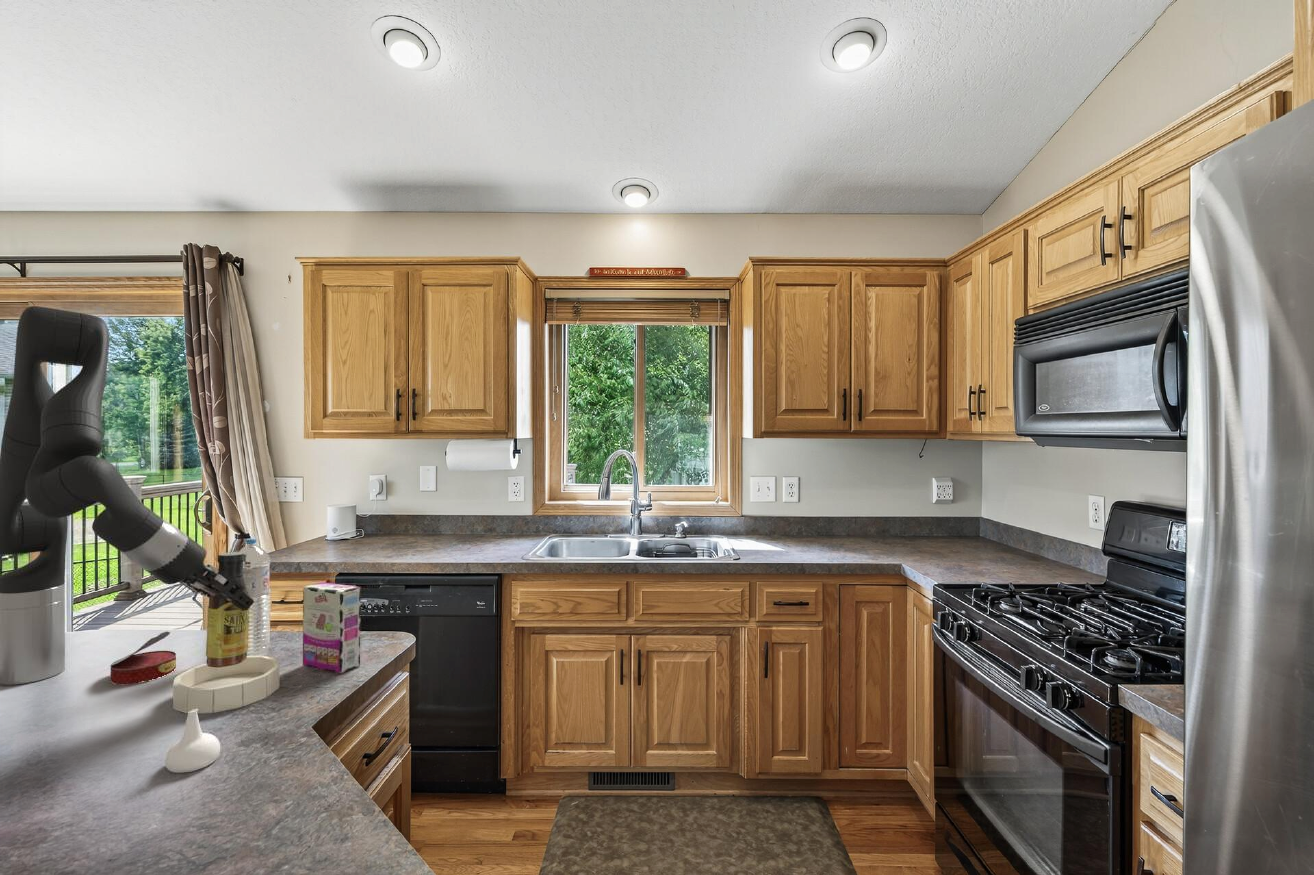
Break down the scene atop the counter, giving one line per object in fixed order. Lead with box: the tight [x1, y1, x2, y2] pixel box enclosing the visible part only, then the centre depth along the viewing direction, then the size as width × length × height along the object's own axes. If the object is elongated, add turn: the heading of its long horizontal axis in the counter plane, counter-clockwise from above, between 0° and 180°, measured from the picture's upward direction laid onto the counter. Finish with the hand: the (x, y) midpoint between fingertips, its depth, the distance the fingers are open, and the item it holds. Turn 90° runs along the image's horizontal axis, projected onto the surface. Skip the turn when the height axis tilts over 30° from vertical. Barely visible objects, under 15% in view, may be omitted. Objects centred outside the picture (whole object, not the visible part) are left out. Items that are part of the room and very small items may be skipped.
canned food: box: [109, 631, 177, 685], centre depth 119 cm, size 11×10×10 cm
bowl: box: [172, 655, 280, 714], centre depth 110 cm, size 16×16×4 cm
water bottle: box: [238, 538, 271, 656], centre depth 128 cm, size 7×7×25 cm
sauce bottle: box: [205, 551, 250, 668], centre depth 110 cm, size 7×6×20 cm
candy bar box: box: [302, 581, 362, 674], centre depth 124 cm, size 11×5×16 cm, turn 68°
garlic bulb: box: [165, 709, 221, 774], centre depth 88 cm, size 6×6×8 cm
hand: (237, 603), depth 112 cm, fingers closed on sauce bottle, 6 cm apart
